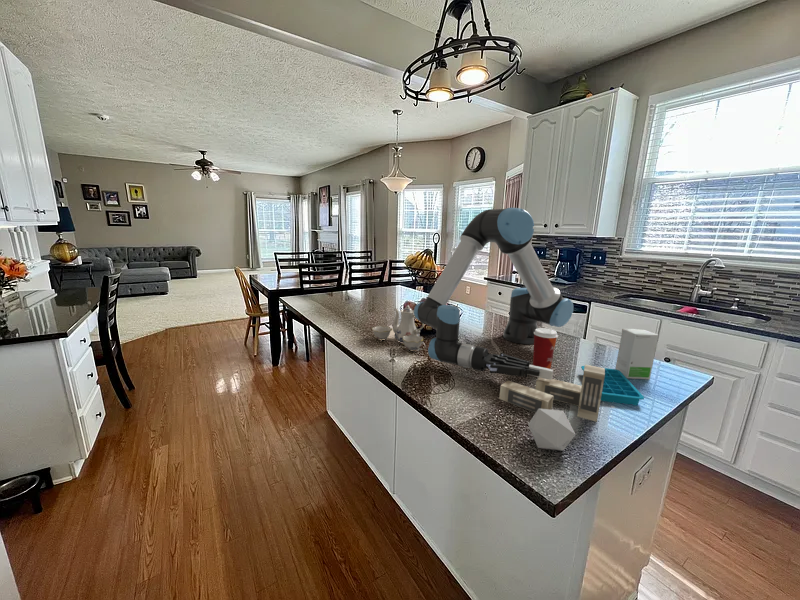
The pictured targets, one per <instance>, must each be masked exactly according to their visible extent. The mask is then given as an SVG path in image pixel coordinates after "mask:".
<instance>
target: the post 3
mask: <svg viewBox="0 0 800 600" xmlns="http://www.w3.org/2000/svg"><path fill="white" fill-rule="evenodd" d="M584 366H585V367H584V371H583V373H582V374H583V376H582V382H581V386H582V387H581V394H580V400H579V406H577V407H578V408H577V415H576V417H578V418H581V419H584V420H589V421H593V422H596V423H598V419H599V412H600V405H601V401H602V400H601V395H602V389H603V383H604V377H605V367H600V366H594V365H589V364H584Z"/></svg>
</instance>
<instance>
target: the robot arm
mask: <svg viewBox="0 0 800 600" xmlns="http://www.w3.org/2000/svg"><path fill="white" fill-rule="evenodd" d="M534 227H535V222H534V219H533V216H532V215H531V214H530V213H529V212H528V211H527V210H525V209H523V208H522V207H521V208H519V207H506V208H496V209H495V208H493V209H492V208H491V209H486V210H483V211H481V212H480V213H478V214H477V215H475V217H474V218H473V219H472V220H471V221H469V223H468V224H467V225H466V227H465V229H463V231H462V234H461V235H460V237H459V240H460V242H459V243H458V244H457V247H456V248H455V250H454V252H453V254H452V255H451V257H450V258H449V259H448V262H447V263H446V265H445V266H444V268H443V270H442V272H441V274H440V275H439V276H438V278H437V280H436V281H435V283H434V285H433V286H432V288H431V290H430V292H429V293H428V295H427V296H426V298H425V300H424V301H420V302H418V303H417V304H416V305H415V306H414V309H413V310H414V315H415V316H414V317H416V319H415V320H418V321H419V322H420V323H421V324H422V323H424V325H427V327H428V326H429V327H431V328H432V329H434V330H436V331H435V335H436V337H434V338H431V340H430V341H429V344H428V347H427V349H428V350H427V352H428V353H427V355H428V356H429V358H431V360H432V359H433V360H436V361H438V362H440V363H447V364H451V365H456V366H459V367H463V368H464V369H466V368H469V369H472V370H476V371H480V372H484V371H485V370H486V369H489V373H490V374H500V375H507V376H514V377H521V378H526V379H527V378H528V376H532V377H537V378H538V377H540V378H545V379H549V380H552V379H553V375H554V374H553V373H554V369H551V368H550V369H548V368H543V367H539V366H534V365H533V364H531V361H530V360H525V359H521V358H518V357H515V356H512V355H509V354H506V353H504V352H500V353H499V354H496V353H490V352H489V349H488V348H486V347H482V346H477V345H476V346H475V345H473V344H468V343H462V342H459V333H460V321H461V318H460V317H461V316H460V313H461V312H460V308H459V307H458V306H456V305H451V304H448V302H449V300H450V299H451V297H452V295H453V294H454V292H455V290H456V289H457V287H458V286H459V284H460V282H461V281H462V279H463V277H464V275H465V274H466V272H467V271H468V269H469V267H470V266H471V263H472V262H473V260H474V259H475V257H476V255H477V254H478V252H481V251H483V249H484V247H485V246H486V245H487V244H489V243H495V244H496V245H497V247H498V249H499V250H500V253H502V254H505V255H507V256H508V258H509V259H510V261H511V263H512V265H513V266H514V269H515V271H516V272H517V274H518V276H519V278H520V280H521V281H522V283H523V285H524V287H517V288H514V289H512V291H511V295H510V303H509V315H508V322H507V324H506V326H505V328H504V330H503V334H502V335H503V336H502V337H503V338H504V339H505V340H507V341H508V342H512V343H516V344H520V345H521V344H522V345H534V332H535V329H537V328H539V327H538V324H537V323H538V322H540V323H543V324H546V325H549V326H550V327H556V328H561V327H564V326H565V325H566V324H567V323H568V322H569V321H570V319H571V318H572V315H573V313H574V303H573V301H572V300H571V299H569V298H567V297H563V295H562V293H561V291H560V289H559V288H558V287H555V286H553V285H552V282H551V281H550V278H549V277H548V275H547V273H546V271H545V268H544V266H543V265H542V263H541V260H540V259H539V256H538V255H537V253H536V251H535V249H534V247H533V245H532V243H531V242H532V240H533V235H534V232H535V228H534Z"/></svg>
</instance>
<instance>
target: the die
mask: <svg viewBox="0 0 800 600" xmlns="http://www.w3.org/2000/svg"><path fill="white" fill-rule="evenodd" d="M527 425H528V427H529V430H530V433H531V434H532V437H533V440H534V442H535V444H536V446H537V448H538V449H546V450H553V451H561V452H562V451H564V450H566V448H567V446H568V445H569V444H570V442H571V441H572V440H573V439H574V437H575V436H576V433H575V430H574V429H573V427H572V425H571V423H570V421H569V419H568V417H567V415H566V413H565V412H564V410H558V409H552V410H549V409H538V410H537V412H536V413H535V412H534V415H533V416H532V418H531V419H530V421H529V422H528V424H527Z"/></svg>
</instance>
